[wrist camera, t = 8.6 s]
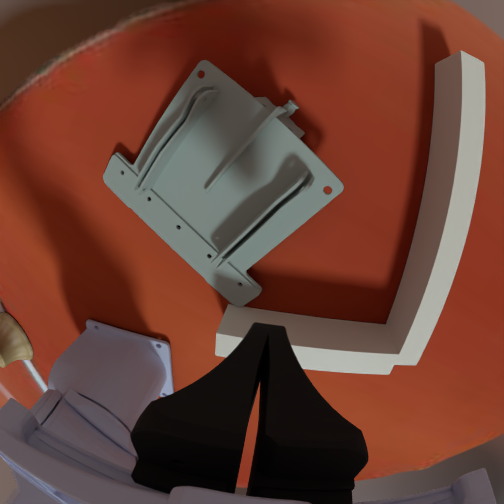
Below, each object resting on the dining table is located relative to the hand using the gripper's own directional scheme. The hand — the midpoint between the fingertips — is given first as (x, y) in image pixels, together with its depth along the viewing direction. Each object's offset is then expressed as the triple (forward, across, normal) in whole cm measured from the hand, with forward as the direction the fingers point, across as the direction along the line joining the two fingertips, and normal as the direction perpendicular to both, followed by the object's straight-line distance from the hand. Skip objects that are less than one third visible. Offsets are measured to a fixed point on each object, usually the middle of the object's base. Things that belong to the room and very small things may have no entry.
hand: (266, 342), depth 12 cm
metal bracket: (+10, +5, -5) cm, 12 cm away
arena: (+9, -4, -5) cm, 12 cm away
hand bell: (+10, +35, +18) cm, 41 cm away
